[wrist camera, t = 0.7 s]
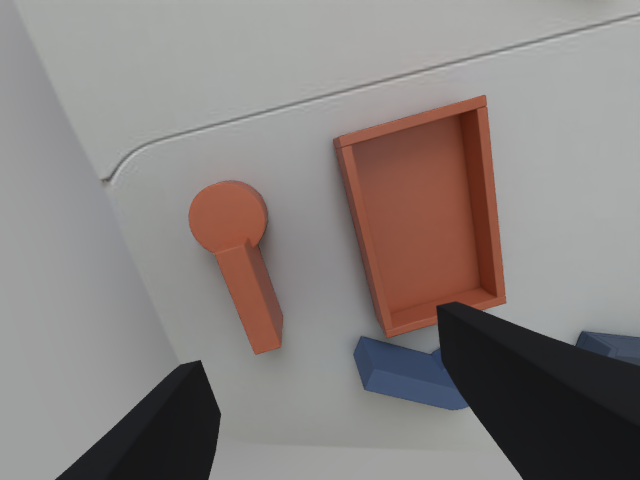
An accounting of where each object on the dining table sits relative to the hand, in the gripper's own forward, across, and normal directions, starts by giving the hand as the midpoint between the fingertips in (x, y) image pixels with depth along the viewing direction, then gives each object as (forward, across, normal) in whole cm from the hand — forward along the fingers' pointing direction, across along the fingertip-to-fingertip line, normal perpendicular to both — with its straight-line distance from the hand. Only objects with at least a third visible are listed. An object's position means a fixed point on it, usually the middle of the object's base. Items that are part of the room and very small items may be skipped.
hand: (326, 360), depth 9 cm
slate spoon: (+8, -5, +8) cm, 13 cm away
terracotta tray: (+8, -6, -1) cm, 11 cm away
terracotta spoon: (+8, +3, -1) cm, 9 cm away
